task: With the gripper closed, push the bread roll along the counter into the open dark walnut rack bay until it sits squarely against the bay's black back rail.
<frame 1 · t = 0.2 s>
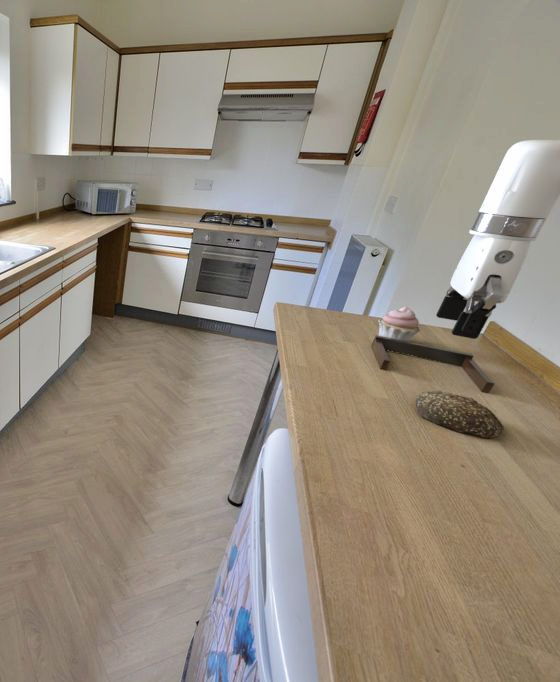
hand: (454, 327, 72), 19 cm above the countertop, tool pointing down, fingers open, 9 cm apart
bread roll: (455, 419, 79), on the countertop
cupcake: (391, 341, 114), on the countertop
rack bay: (425, 369, 98), on the countertop
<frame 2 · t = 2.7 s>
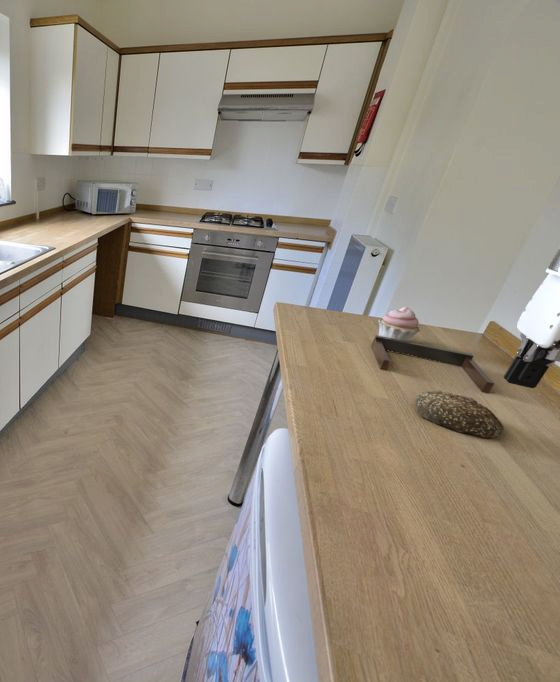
hand: (518, 383, 64), 14 cm above the countertop, tool pointing down, fingers closed
nothing on the countertop moved.
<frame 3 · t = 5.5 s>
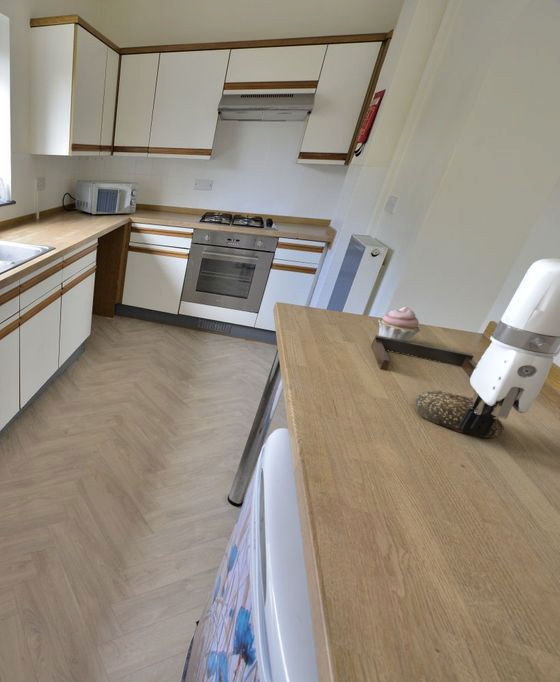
hand: (471, 431, 73), 2 cm above the countertop, tool pointing down, fingers closed
bread roll: (454, 419, 79), on the countertop, touching gripper
everything else where it was.
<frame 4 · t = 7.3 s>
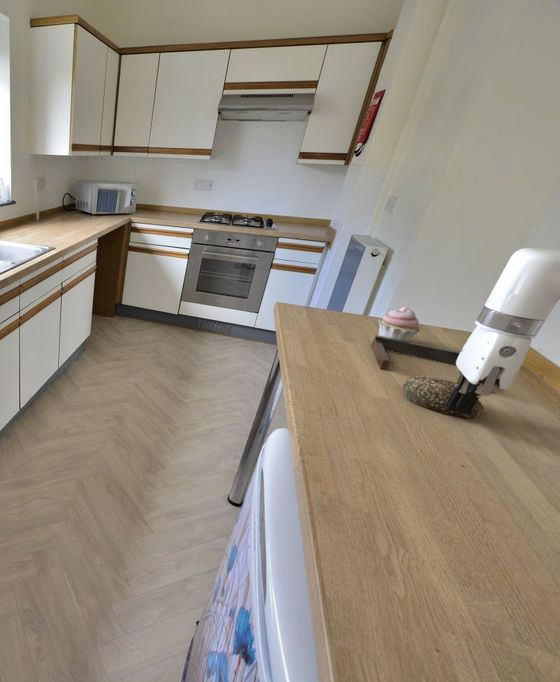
hand: (456, 409, 78), 2 cm above the countertop, tool pointing down, fingers closed
bread roll: (439, 402, 85), on the countertop, touching gripper
everything else where it was.
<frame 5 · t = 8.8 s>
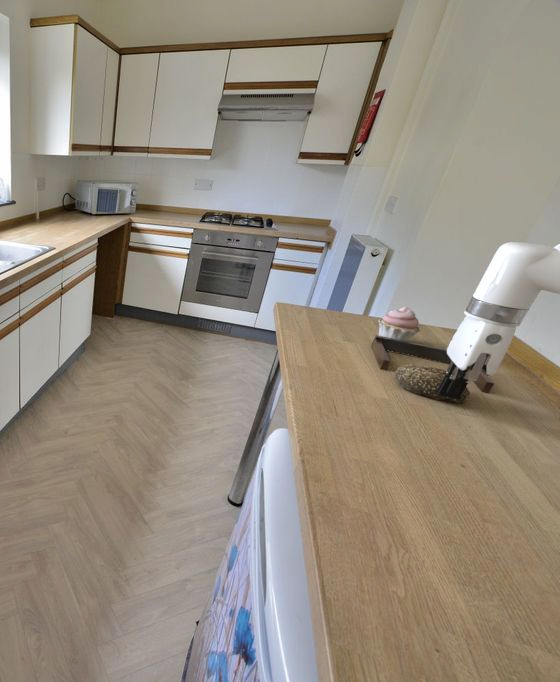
hand: (447, 395, 83), 2 cm above the countertop, tool pointing down, fingers closed
bread roll: (429, 389, 90), on the countertop, touching gripper
everything else where it was.
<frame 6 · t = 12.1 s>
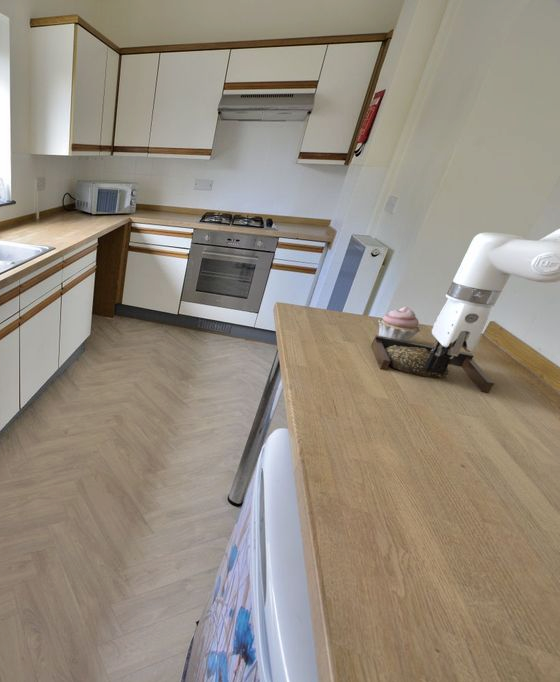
hand: (433, 371, 93), 2 cm above the countertop, tool pointing down, fingers closed
bread roll: (413, 366, 100), on the countertop, touching gripper, rack bay
everything else where it was.
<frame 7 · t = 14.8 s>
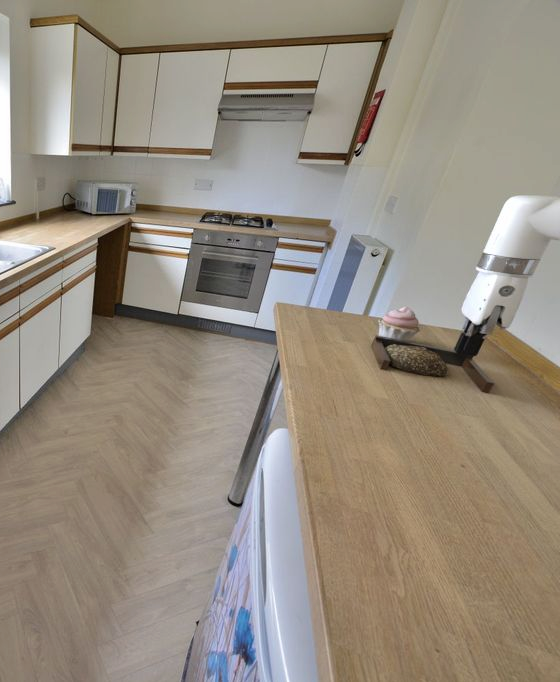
hand: (464, 353, 84), 10 cm above the countertop, tool pointing down, fingers closed
bread roll: (412, 365, 100), on the countertop, touching rack bay
everything else where it was.
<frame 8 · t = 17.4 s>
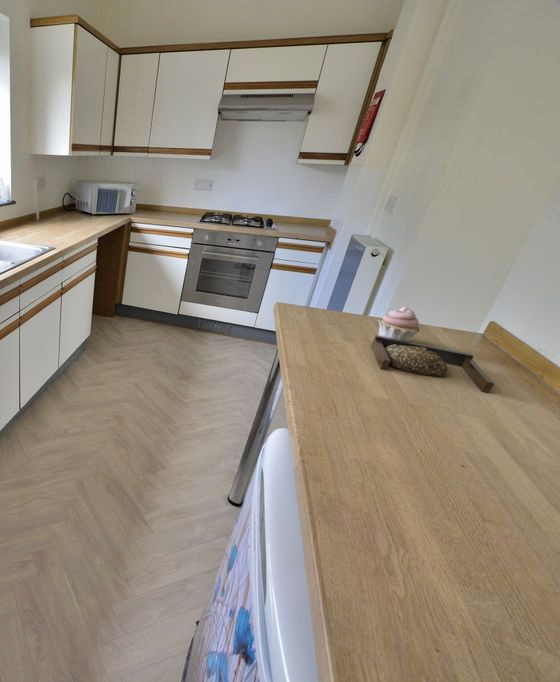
bread roll: (412, 365, 100), on the countertop
everything else where it was.
at the end: bread roll 2.1 cm from the target spot on the rack bay, point 0.0 cm above the rack bay's base; bread roll tilted 0°; bread roll moved 25.2 cm from its start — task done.
